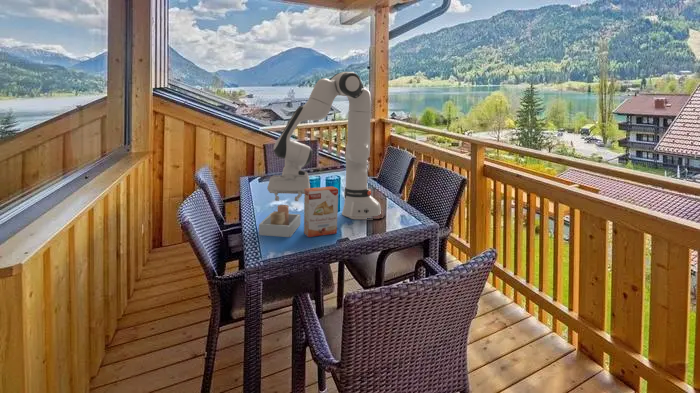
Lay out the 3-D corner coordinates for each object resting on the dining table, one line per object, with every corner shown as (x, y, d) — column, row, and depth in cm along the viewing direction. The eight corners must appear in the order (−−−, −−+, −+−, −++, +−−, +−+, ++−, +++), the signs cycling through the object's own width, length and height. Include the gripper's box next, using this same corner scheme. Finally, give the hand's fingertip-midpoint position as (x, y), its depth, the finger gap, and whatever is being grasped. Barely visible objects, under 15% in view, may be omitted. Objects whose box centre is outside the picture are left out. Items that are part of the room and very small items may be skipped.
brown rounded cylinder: (290, 223, 190) (289, 205, 188) (287, 226, 185) (286, 207, 183) (279, 222, 191) (279, 204, 188) (276, 226, 186) (276, 207, 184)
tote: (300, 224, 192) (300, 214, 191) (290, 237, 175) (290, 226, 174) (272, 222, 194) (271, 212, 192) (259, 235, 176) (258, 224, 175)
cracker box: (308, 238, 174) (308, 191, 169) (303, 233, 180) (303, 188, 174) (337, 233, 181) (338, 188, 176) (332, 229, 186) (332, 185, 181)
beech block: (285, 228, 182) (284, 211, 180) (282, 232, 177) (281, 215, 176) (274, 228, 183) (274, 211, 181) (271, 231, 178) (270, 214, 176)
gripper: (268, 171, 194) (263, 196, 187) (310, 172, 192) (306, 197, 185) (272, 178, 200) (266, 203, 193) (312, 179, 197) (308, 204, 190)
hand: (286, 200), depth 189 cm, fingers open, 8 cm apart
